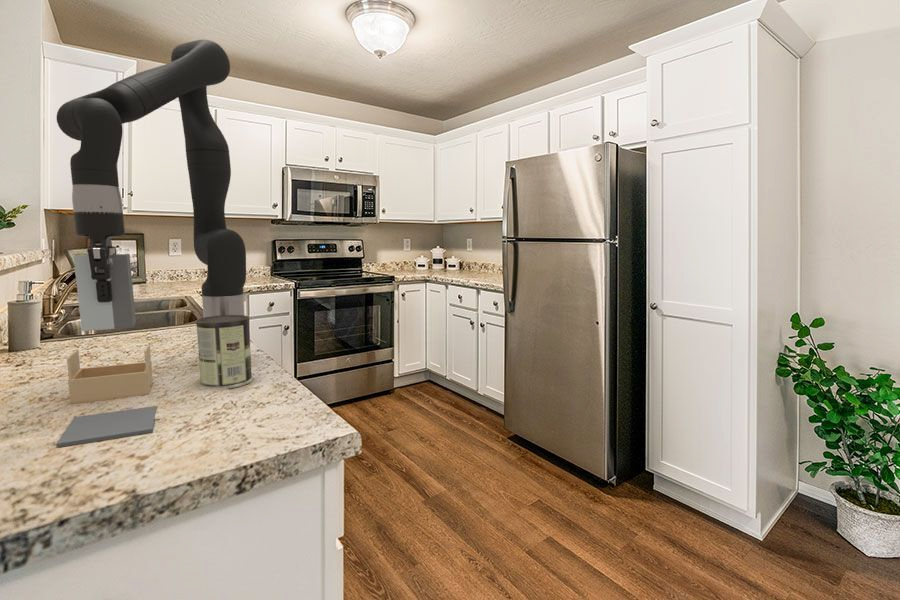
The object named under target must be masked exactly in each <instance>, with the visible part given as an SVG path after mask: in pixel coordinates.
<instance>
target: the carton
mask: <svg viewBox="0 0 900 600" xmlns="http://www.w3.org/2000/svg"><path fill="white" fill-rule="evenodd" d="M150 345H151V344H150V343H147V345H146V347H145V349H144V353H143V354H144V361H142V362H133V363H132V362H131V363H122V364H112V365H103V366H92V367H91V366H90V367H81V363H80V355H79V354H80V352H79V348H78V349H75V350H74V351H73V352H72V353H71V354H70V355H69V356H68V357H67V358H66V365H67V373H68V374H67V375H68V380H67V382H68V384H67V385H68V392H69V393H68V395H69V404H70V405H73V404H82V403H90V402H97V401H98V402H100V401H106V400H112V399H113V400H114V399H121V398H122V399H123V398H129V397H130V398H131V397H137V396H146V395H150V392H151V388H152V386H153V381H154V380H153V368H152V360H151V359H152V358H151V357H152V356H151V346H150Z"/></svg>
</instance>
